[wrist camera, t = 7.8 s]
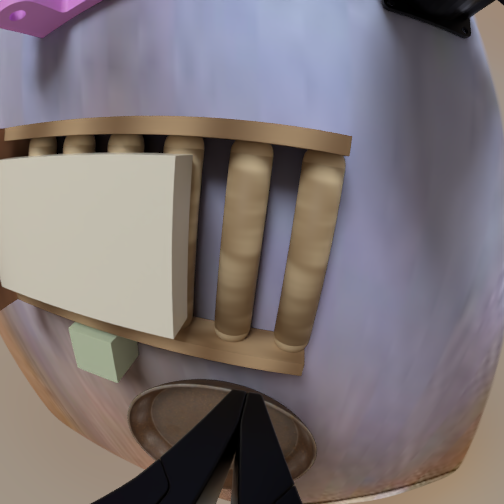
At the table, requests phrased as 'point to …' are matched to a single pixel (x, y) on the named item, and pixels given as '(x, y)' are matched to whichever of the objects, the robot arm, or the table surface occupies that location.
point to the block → (102, 351)
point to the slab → (99, 235)
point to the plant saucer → (197, 407)
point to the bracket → (40, 14)
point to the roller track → (224, 228)
